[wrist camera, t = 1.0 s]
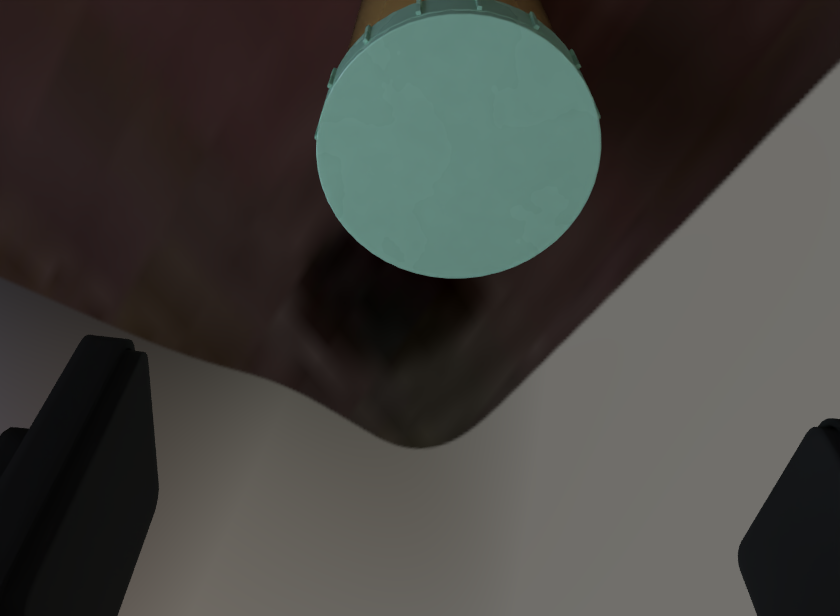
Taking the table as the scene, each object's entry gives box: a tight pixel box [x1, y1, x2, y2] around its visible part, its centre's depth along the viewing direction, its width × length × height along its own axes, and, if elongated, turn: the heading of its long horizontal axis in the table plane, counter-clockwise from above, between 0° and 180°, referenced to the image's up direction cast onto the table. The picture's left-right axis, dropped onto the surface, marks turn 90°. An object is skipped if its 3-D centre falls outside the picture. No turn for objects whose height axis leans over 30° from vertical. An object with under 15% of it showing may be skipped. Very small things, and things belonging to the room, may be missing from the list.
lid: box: [315, 0, 601, 278], centre depth 19 cm, size 7×7×2 cm
